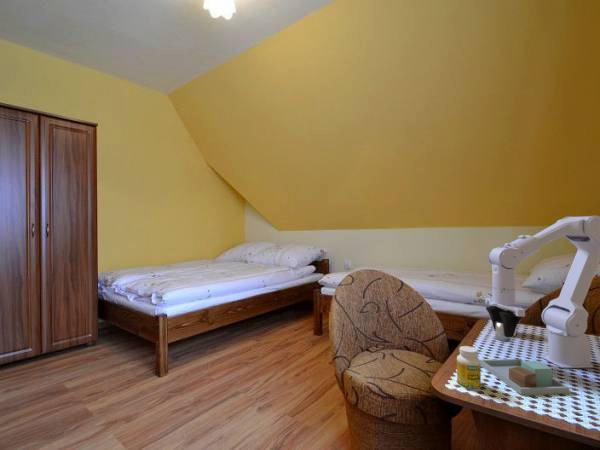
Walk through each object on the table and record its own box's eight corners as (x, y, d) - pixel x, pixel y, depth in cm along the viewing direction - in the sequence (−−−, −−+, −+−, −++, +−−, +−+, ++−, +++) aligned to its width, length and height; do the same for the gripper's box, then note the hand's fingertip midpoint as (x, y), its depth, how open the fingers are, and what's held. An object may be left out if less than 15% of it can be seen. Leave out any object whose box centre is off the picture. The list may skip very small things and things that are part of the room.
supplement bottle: (469, 380, 83) (469, 344, 83) (486, 390, 77) (485, 352, 77) (452, 382, 81) (452, 345, 81) (467, 393, 76) (467, 354, 76)
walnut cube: (520, 381, 80) (520, 366, 80) (536, 389, 77) (536, 373, 77) (508, 384, 79) (508, 368, 79) (524, 392, 75) (524, 375, 75)
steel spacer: (504, 337, 95) (505, 320, 95) (515, 342, 91) (515, 325, 91) (492, 337, 95) (492, 321, 95) (501, 342, 91) (502, 325, 91)
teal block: (537, 377, 83) (537, 360, 82) (552, 386, 78) (552, 368, 78) (521, 378, 82) (521, 361, 82) (534, 387, 78) (534, 369, 78)
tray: (519, 365, 91) (519, 358, 91) (569, 396, 75) (569, 387, 75) (479, 366, 90) (479, 359, 90) (520, 397, 74) (520, 388, 74)
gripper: (475, 283, 100) (475, 325, 100) (507, 293, 85) (507, 343, 85) (497, 283, 100) (497, 325, 100) (532, 293, 85) (532, 342, 86)
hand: (503, 333), depth 93 cm, fingers closed on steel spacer, 4 cm apart
